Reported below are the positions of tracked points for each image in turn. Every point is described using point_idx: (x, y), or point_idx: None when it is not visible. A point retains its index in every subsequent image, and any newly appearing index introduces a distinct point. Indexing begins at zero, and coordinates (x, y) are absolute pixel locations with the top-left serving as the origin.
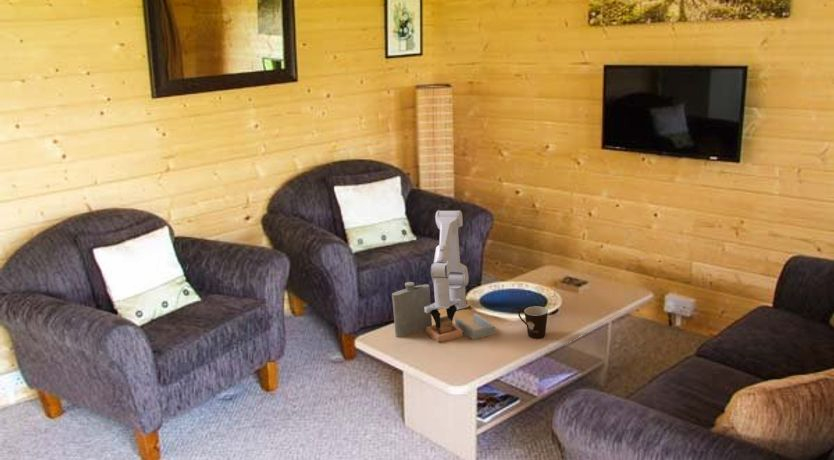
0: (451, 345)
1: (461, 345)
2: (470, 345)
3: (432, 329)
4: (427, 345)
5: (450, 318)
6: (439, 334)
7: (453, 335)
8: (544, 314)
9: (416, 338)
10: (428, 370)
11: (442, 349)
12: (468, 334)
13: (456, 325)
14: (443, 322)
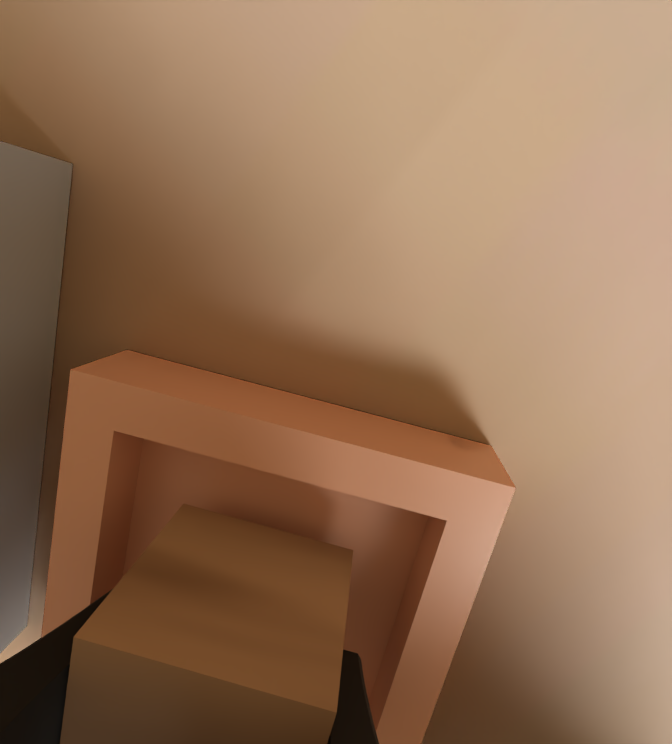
0: (421, 249)
1: (319, 135)
2: (222, 27)
3: (385, 716)
4: (643, 496)
5: (49, 697)
6: None
7: (247, 399)
8: None
9: (577, 725)
10: None
11: (607, 243)
12: (46, 309)
13: (19, 612)
14: (272, 687)
